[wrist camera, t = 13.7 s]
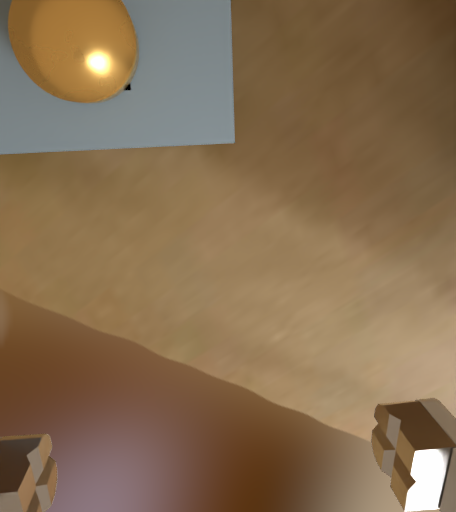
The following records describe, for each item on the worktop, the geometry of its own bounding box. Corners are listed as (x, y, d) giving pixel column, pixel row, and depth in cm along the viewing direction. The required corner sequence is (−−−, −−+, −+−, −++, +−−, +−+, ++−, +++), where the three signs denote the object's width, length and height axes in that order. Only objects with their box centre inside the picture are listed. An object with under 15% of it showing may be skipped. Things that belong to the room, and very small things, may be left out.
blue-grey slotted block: (-61, -45, 25) (-114, -80, 20) (218, -43, 27) (228, -75, 22) (-14, 149, 29) (-49, 156, 25) (225, 138, 31) (234, 143, 27)
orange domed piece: (138, 4, 27) (127, -35, 20) (148, 103, 29) (141, 100, 22) (42, 4, 26) (-6, -36, 19) (59, 106, 29) (22, 104, 21)
